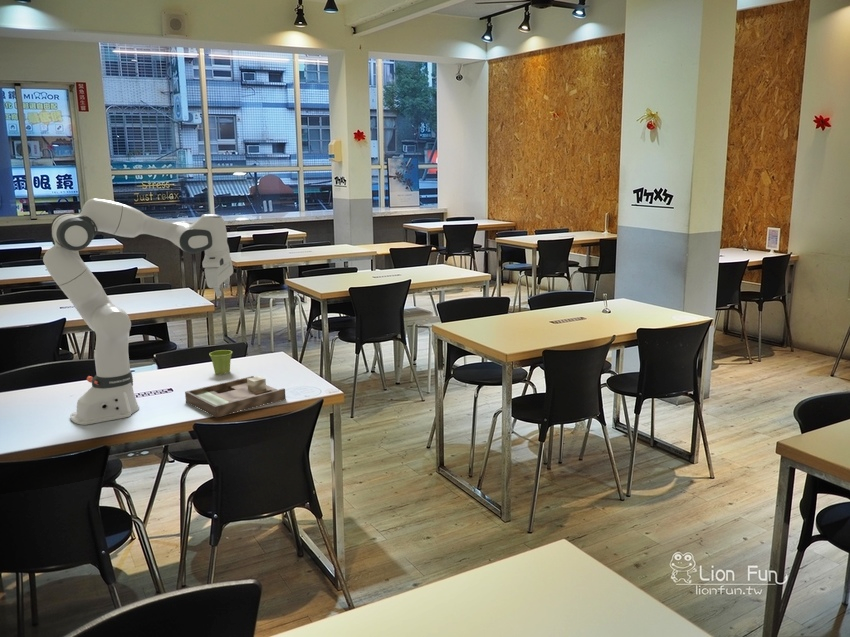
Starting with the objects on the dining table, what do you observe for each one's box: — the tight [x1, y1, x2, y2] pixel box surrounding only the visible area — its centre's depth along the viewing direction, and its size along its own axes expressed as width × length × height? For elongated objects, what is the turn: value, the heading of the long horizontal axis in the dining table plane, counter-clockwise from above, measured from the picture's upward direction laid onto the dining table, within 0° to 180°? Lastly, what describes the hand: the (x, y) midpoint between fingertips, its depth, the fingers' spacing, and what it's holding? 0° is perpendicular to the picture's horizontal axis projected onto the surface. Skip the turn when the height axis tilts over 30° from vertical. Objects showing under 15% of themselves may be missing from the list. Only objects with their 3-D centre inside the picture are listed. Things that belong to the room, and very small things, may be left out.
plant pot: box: [209, 349, 233, 375], centre depth 306 cm, size 9×9×9 cm
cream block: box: [247, 375, 267, 392], centre depth 275 cm, size 5×5×4 cm
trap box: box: [184, 375, 286, 418], centre depth 269 cm, size 28×24×4 cm
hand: (223, 292), depth 275 cm, fingers open, 8 cm apart
